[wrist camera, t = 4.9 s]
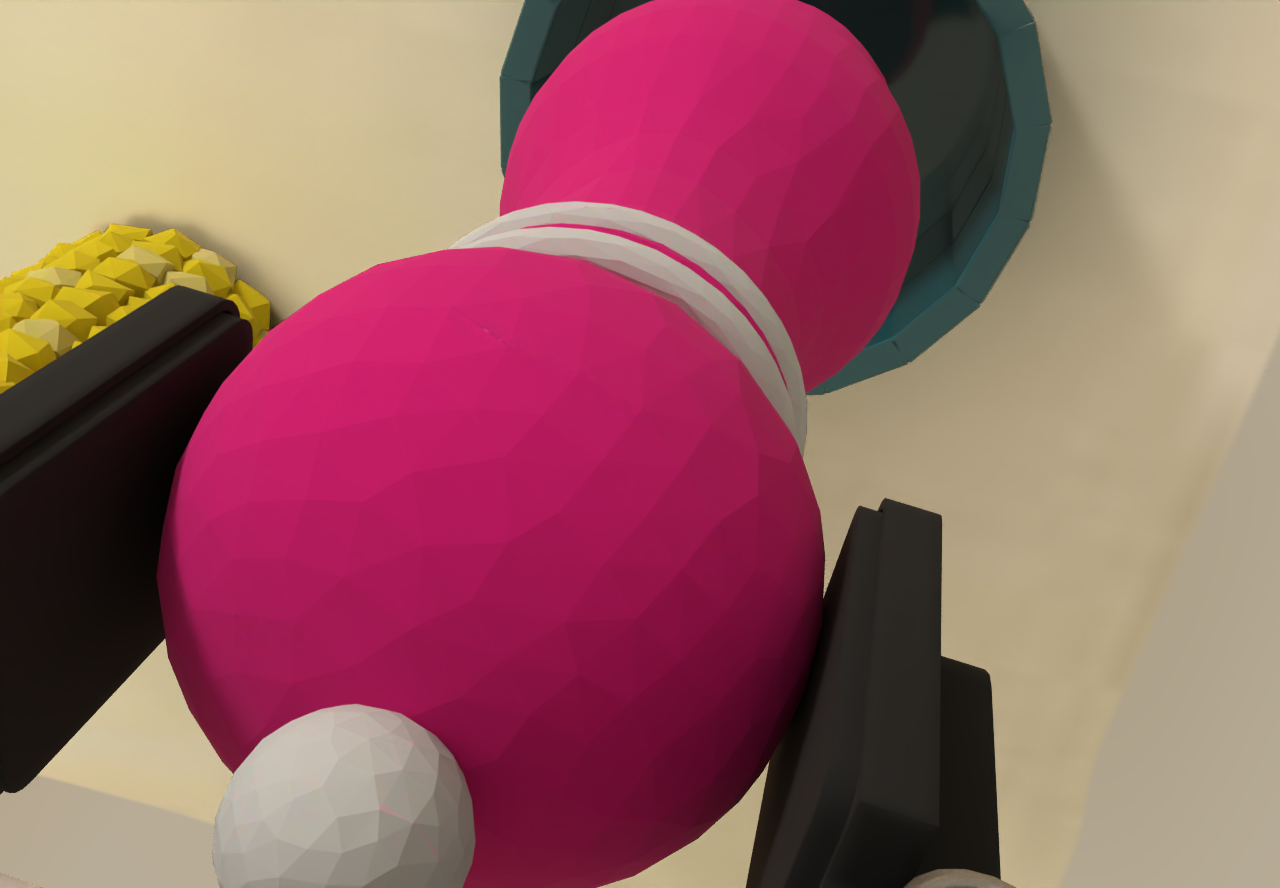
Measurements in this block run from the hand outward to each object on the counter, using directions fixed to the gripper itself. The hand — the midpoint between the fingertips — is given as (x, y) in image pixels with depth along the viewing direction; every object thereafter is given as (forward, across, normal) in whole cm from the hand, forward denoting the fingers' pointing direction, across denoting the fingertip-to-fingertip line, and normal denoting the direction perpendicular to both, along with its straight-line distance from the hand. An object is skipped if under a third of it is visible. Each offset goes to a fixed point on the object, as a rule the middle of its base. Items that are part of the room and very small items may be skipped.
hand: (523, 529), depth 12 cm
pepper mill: (+15, 0, 0) cm, 15 cm away
